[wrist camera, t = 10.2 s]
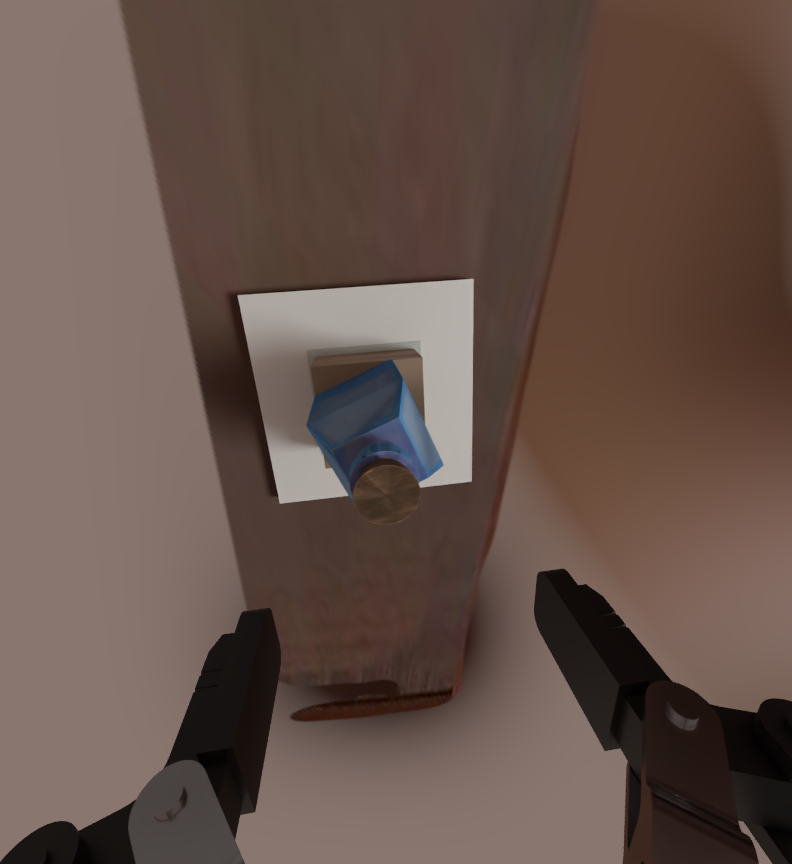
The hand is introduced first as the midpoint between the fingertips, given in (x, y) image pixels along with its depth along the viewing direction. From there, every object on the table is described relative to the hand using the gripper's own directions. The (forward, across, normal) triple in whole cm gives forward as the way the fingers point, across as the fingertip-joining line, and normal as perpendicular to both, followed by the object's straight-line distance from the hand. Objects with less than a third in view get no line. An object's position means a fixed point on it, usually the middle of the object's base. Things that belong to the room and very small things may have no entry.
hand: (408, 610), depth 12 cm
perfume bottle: (+19, 0, 0) cm, 19 cm away
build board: (+24, 0, 0) cm, 24 cm away
